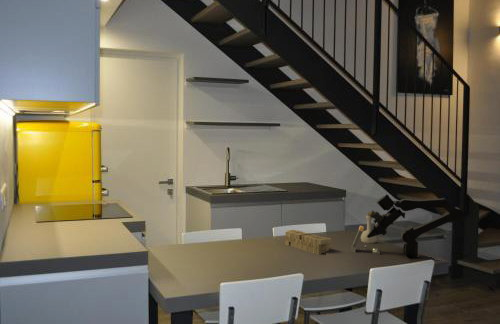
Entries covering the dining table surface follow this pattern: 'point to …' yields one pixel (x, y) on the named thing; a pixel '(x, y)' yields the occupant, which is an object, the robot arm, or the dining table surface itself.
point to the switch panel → (374, 251)
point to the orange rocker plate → (358, 235)
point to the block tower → (307, 241)
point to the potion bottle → (365, 233)
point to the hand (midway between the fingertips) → (367, 237)
